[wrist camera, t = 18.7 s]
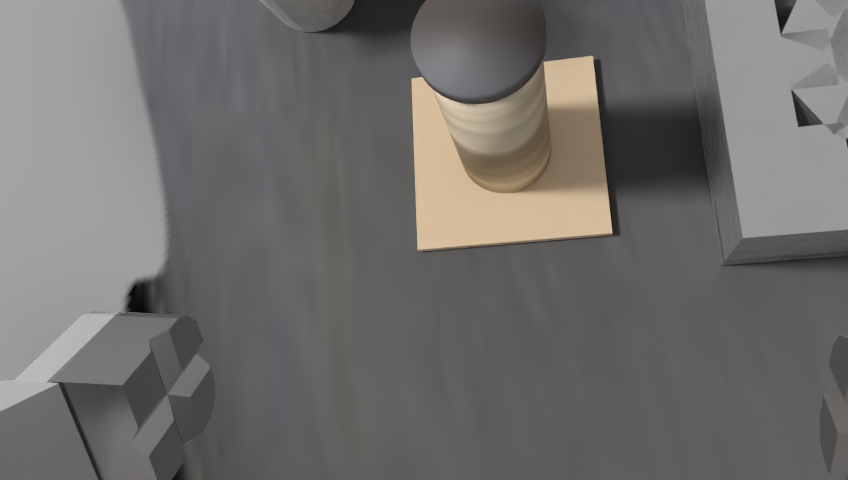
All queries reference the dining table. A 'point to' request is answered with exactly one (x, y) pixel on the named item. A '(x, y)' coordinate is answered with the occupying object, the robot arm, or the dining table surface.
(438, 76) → the beige and grey cylinder
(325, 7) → the house plant
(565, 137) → the cork mat
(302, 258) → the dining table surface
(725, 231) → the bore housing
